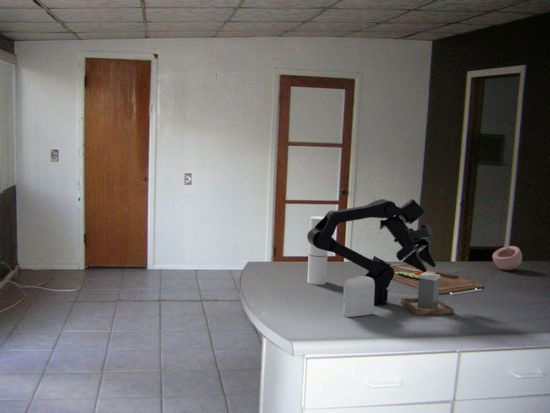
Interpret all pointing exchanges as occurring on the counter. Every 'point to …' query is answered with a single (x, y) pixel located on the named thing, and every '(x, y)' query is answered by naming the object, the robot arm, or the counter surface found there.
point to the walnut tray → (440, 310)
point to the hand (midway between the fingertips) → (430, 269)
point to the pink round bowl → (507, 257)
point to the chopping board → (446, 283)
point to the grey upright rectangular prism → (428, 290)
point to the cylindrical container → (316, 259)
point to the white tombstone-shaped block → (358, 296)
